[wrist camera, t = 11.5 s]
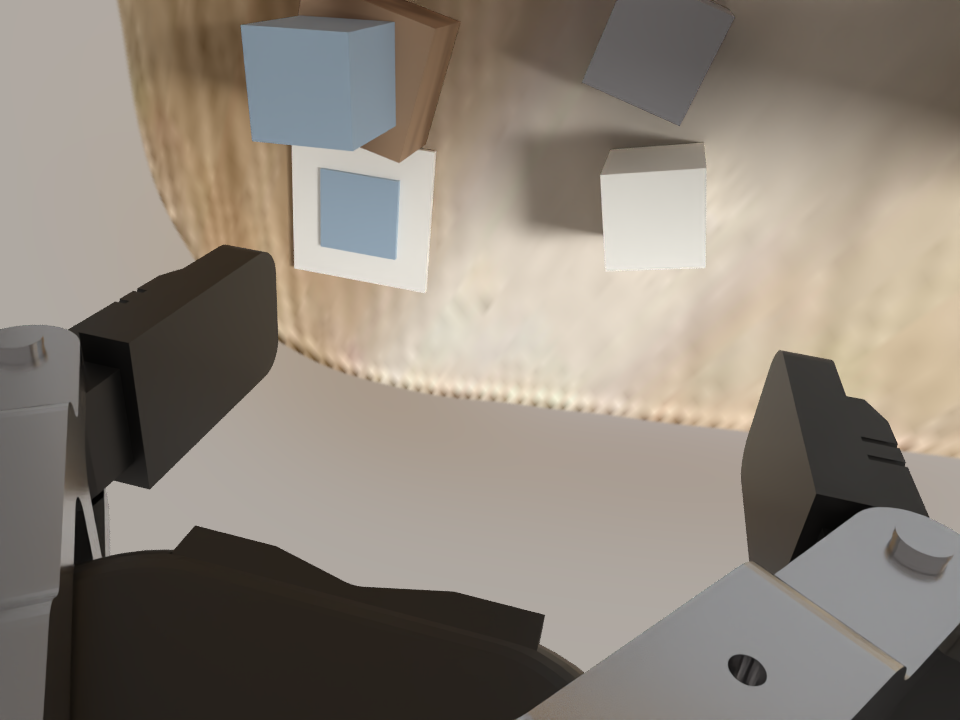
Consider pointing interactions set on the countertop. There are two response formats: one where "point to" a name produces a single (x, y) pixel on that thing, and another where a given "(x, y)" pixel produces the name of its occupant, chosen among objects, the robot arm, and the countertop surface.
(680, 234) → the white block
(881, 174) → the countertop surface
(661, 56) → the grey block
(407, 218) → the card
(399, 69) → the walnut base
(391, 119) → the slate block
